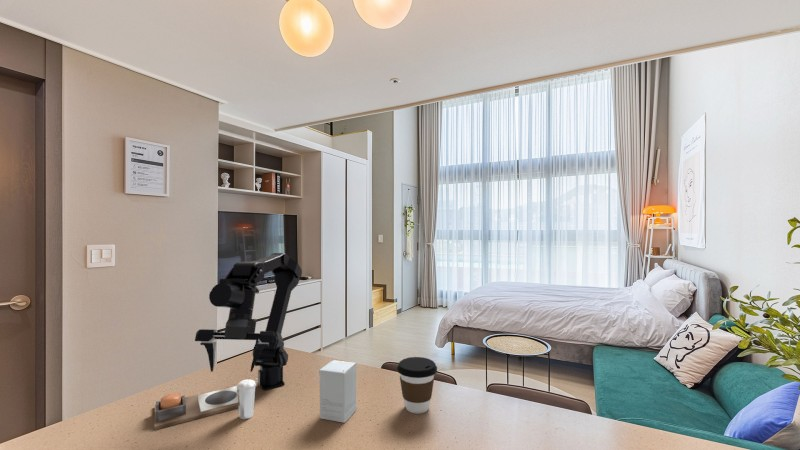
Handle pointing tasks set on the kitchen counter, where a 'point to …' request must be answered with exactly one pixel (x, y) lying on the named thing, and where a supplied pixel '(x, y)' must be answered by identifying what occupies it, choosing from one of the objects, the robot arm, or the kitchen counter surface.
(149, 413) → the kitchen counter surface
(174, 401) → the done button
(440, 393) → the kitchen counter surface
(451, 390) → the kitchen counter surface
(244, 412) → the milkshake
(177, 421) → the board
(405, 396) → the coffee cup
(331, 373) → the supplement box
